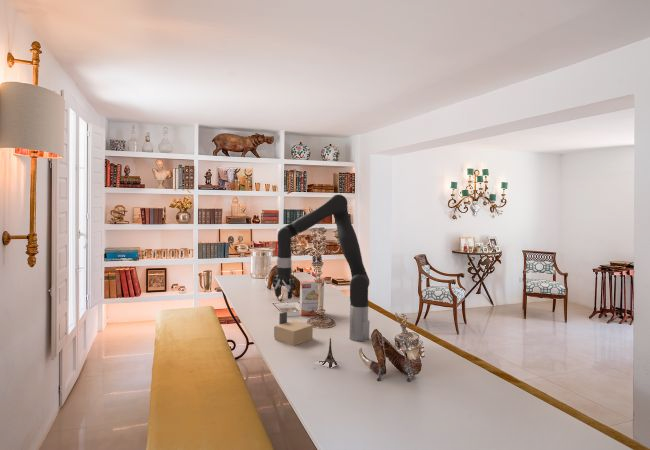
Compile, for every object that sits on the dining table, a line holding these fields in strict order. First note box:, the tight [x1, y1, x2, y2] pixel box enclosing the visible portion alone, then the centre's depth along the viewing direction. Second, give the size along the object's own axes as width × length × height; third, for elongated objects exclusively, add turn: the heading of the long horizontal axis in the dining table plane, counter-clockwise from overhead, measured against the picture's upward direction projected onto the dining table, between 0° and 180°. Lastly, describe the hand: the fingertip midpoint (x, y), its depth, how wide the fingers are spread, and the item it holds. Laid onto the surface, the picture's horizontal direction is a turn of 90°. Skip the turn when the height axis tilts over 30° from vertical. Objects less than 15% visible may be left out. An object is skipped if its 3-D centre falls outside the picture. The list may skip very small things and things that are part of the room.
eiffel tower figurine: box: [319, 336, 338, 369], centre depth 183 cm, size 15×10×13 cm
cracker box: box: [299, 279, 325, 317], centre depth 262 cm, size 14×6×21 cm, turn 105°
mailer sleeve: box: [274, 319, 314, 346], centre depth 215 cm, size 13×14×7 cm
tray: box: [273, 311, 288, 339], centre depth 216 cm, size 14×13×11 cm
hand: (283, 297), depth 219 cm, fingers open, 8 cm apart
